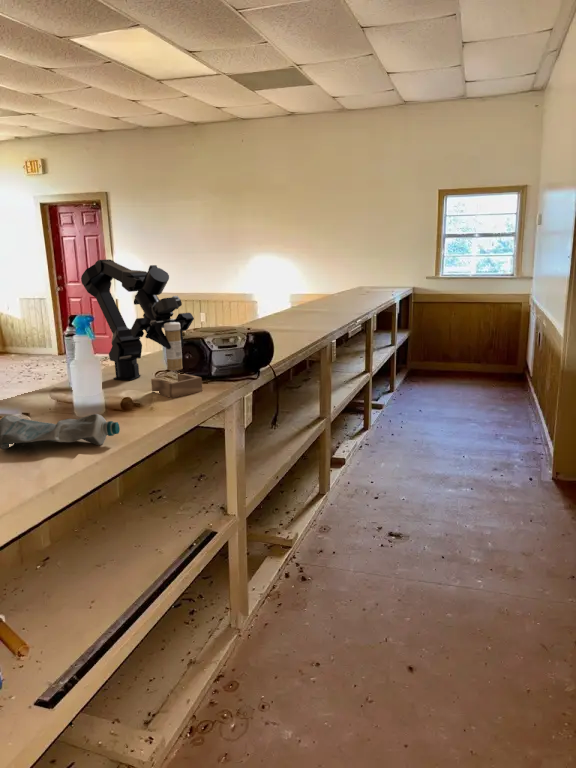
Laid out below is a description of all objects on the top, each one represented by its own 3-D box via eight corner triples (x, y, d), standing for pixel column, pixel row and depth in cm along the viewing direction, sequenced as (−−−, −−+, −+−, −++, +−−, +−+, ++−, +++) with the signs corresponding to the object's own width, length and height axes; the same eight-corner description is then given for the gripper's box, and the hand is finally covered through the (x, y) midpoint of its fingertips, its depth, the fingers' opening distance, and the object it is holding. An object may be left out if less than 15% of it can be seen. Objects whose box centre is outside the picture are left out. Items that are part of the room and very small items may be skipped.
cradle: (152, 392, 161) (151, 378, 160) (181, 385, 168) (180, 372, 167) (172, 398, 154) (171, 384, 153) (202, 390, 161) (201, 377, 161)
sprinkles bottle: (178, 366, 163) (175, 321, 160) (185, 369, 160) (183, 322, 156) (164, 369, 160) (160, 322, 157) (171, 371, 157) (168, 324, 153)
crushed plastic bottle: (-14, 457, 112) (107, 454, 111) (-19, 422, 111) (104, 419, 110) (20, 440, 125) (129, 437, 124) (16, 409, 124) (126, 406, 123)
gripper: (132, 289, 150) (158, 333, 146) (188, 285, 163) (214, 325, 159) (119, 315, 157) (144, 358, 153) (174, 310, 171) (198, 349, 166)
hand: (176, 347), depth 157 cm, fingers closed on sprinkles bottle, 4 cm apart
